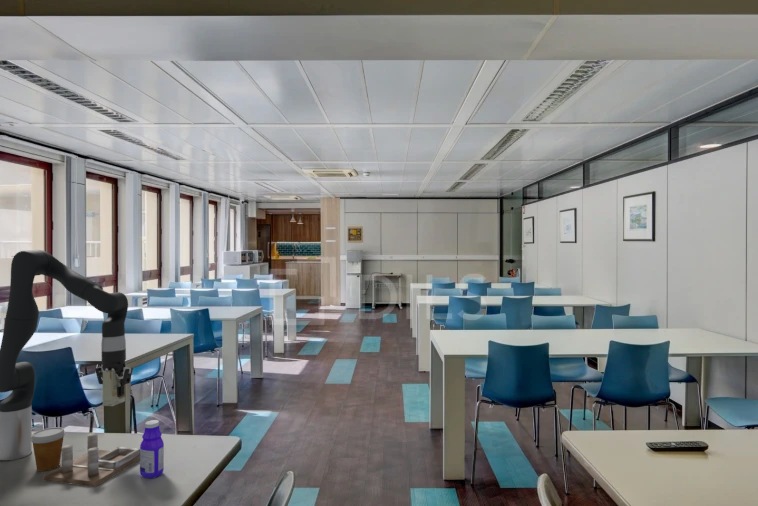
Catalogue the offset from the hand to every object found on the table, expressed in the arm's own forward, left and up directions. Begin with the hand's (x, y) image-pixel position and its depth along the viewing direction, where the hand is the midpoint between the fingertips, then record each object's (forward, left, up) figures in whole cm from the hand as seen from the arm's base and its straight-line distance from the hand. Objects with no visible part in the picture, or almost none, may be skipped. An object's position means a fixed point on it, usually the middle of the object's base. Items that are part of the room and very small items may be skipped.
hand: (114, 395), depth 160 cm
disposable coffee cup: (-16, -11, -22) cm, 30 cm away
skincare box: (0, 0, -3) cm, 3 cm away
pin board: (+1, -9, -22) cm, 24 cm away
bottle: (+23, -9, -22) cm, 33 cm away
